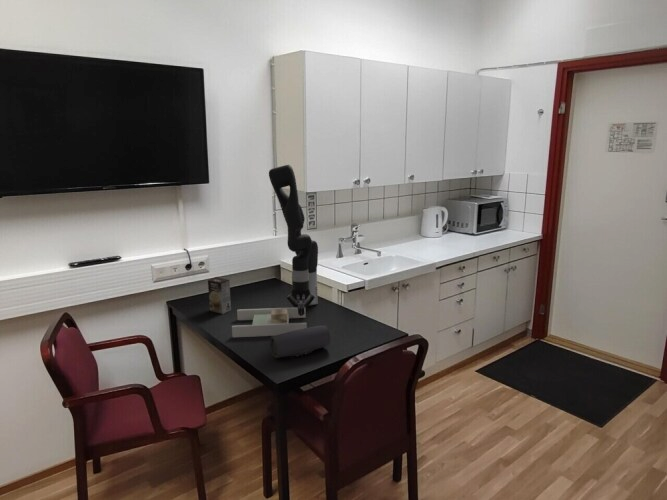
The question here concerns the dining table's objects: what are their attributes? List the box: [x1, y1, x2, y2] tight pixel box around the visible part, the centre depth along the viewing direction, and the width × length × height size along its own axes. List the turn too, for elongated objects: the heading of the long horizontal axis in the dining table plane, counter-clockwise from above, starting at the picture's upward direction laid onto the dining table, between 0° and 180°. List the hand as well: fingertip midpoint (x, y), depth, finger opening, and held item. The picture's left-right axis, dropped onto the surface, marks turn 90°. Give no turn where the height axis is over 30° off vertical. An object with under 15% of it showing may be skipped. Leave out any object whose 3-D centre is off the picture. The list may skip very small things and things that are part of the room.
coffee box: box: [207, 276, 232, 315], centre depth 230 cm, size 9×6×16 cm
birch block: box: [271, 309, 287, 323], centre depth 211 cm, size 7×6×4 cm
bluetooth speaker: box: [269, 324, 331, 359], centre depth 184 cm, size 23×9×10 cm, turn 118°
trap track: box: [231, 306, 308, 338], centre depth 211 cm, size 32×20×5 cm, turn 95°
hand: (301, 315), depth 211 cm, fingers closed
